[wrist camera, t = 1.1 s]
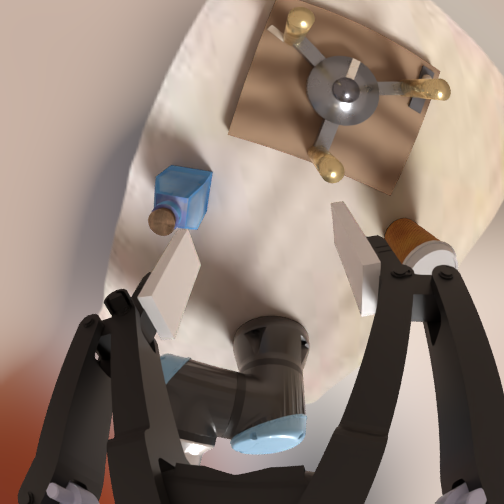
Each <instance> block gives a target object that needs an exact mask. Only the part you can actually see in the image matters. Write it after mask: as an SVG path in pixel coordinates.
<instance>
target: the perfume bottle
mask: <svg viewBox="0 0 504 504" xmlns="http://www.w3.org/2000/svg"><path fill="white" fill-rule="evenodd" d="M212 173H213V172H210V171H205V170H199V169H193V168H187V167H180V166H174V165H171V166H169V167H168V168H167V169H165V170H164V171H163V172H161V173H160V174H159V175H158V176H156V180H155V194H154V209H153V210H152V213H151V214H150V215H149V218H148V223H149V226H150V228H151V230H152V231H153V232H154V233H156V234H158V235H161V236H166V235H169V234H170V233H172V231H173V230H174V229H176V228H177V227H178V228H183V229H195V230H197V229H198V227H199V225H200V223H201V221H202V219H203V217H204V216H205V214H206V212H207V206H208V199H209V192H210V185H211V179H212Z"/></svg>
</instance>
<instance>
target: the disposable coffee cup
mask: <svg viewBox="0 0 504 504" xmlns="http://www.w3.org/2000/svg"><path fill="white" fill-rule="evenodd" d="M385 240H386V241H387V243H388V244H389V246H390V247H391V249H392V251H393V252H394V253H395V255H396V256H397V258H398V259H399V261H400V262H401V264H404V265H407V266H409V267H411V268H412V269H413V270H414V273H415V274H420V275H432V271H433V269H434V268H435V267H436V266H439V265H449V266H452V267H454V268H455V269H457V270H458V261H457V258H456V253H455V251H454V249H453V248H452V247H451V246H450V245H449V244H447V243H446V242H442V241H440V240H438V239H437V238H436V237H434V236H433V235H432V234H430V233H429V232H427V231H426V230H425V229H423V228H422V227H420V226H419V225H418V224H416V223H415V222H413V221H412V220H410V219H407V218H401V219H398V220H396V221H394V222H393V223H392V224H391V225H390V226H389V227H388V229H387V231H386V233H385Z"/></svg>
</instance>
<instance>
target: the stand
mask: <svg viewBox="0 0 504 504" xmlns="http://www.w3.org/2000/svg"><path fill="white" fill-rule="evenodd" d="M295 7H305V8H307V9H309V10H310V11H312V13H313V14H314V17H315V21H314V23H313V25H312V26H311V28H310V30H309V31H308V33H307V35H306V36H305V37H306V38H307V39H308V40H309V41H310V42H311V43H312V44H313V45H314V46H315V47H316V48H317V49H318V50H319V51H320V52H321V54H322V55H323V56H324V57H325V58H329V57H333V56H347V57H351V58H354V59H356V60H358V61H360V62H361V63H363V64H364V65H365V66H367V67H368V68H369V70H370V71H371V72H372V73H373V75H374V76H375V78H376V81H377V82H398V81H400V80H410V79H438V77H439V74H440V71H439V70H438V69H436V68H435V67H433V66H432V65H430V64H429V63H427V62H426V61H425V60H423V59H422V58H420V57H418V56H417V55H415V54H414V53H412V52H411V51H409V50H407V49H406V48H404V47H402V46H401V45H399V44H397V43H395V42H394V41H392V40H390V39H388V38H387V37H385V36H383V35H381V34H379V33H377V32H375V31H373V30H371V29H369V28H367V27H365V26H363V25H361V24H359V23H357V22H354V21H352V20H350V19H348V18H345V17H343V16H341V15H338V14H336V13H333V12H331V11H328V10H326V9H323V8H320V7H318V6H315V5H312V4H309V3H306V2H303V1H300V0H276V1H275V3H274V6H273V8H272V11H271V13H270V16H269V18H268V21H267V23H266V26H265V28H264V31H263V34H262V36H261V39H260V42H259V44H258V47H257V50H256V52H255V55H254V58H253V61H252V63H251V66H250V69H249V72H248V75H247V77H246V80H245V83H244V86H243V89H242V92H241V95H240V98H239V101H238V104H237V107H236V110H235V113H234V116H233V120H232V123H231V126H230V129H229V132H228V135H231V136H234V137H238V138H241V139H244V140H248V141H251V142H254V143H257V144H260V145H263V146H266V147H270V148H273V149H276V150H279V151H281V152H284V153H287V154H290V155H293V156H296V157H298V158H301V159H304V160H307V161H309V162H312V161H311V159H310V158H309V156H308V150H309V148H310V147H311V146H312V145H313V144H314V141H315V139H316V136H317V134H318V131H319V128H320V126H321V123H322V121H323V118H322V117H321V116H319V115H318V114H317V113H316V112H315V111H314V109H313V108H312V107H311V105H310V103H309V101H308V99H307V95H306V81H307V77H308V75H309V73H310V71H311V70H312V69H313V67H312V66H311V65H310V64H309V63H308V62H307V61H306V60H305V59H304V58H303V56H302V55H301V54H300V53H299V52H298V51H297V50H296V49H295V48H294V47H293V46H289V45H287V44H286V43H285V42H284V39H283V35H284V31H285V27H286V22H287V18H288V14H289V12H290V10H292V9H293V8H295ZM430 101H431V99H425V98H414V97H403V96H401V95H379V102H378V105H377V108H376V110H375V111H374V113H373V114H372V115H371V116H370V117H369V118H368V119H367V120H365V121H364V122H362V123H360V124H357V125H352V126H343V125H339V126H338V129H337V131H336V134H335V136H334V139H333V141H332V144H331V146H330V149H329V152H330V153H331V154H332V155H333V156H334V157H335V158H337V159H338V160H339V161H340V162H341V163H342V164H343V166H344V169H345V173H344V175H345V176H347V177H349V178H352V179H354V180H356V181H359V182H361V183H363V184H366V185H368V186H370V187H372V188H375V189H377V190H379V191H381V192H383V193H385V194H387V195H390V196H391V194H392V192H393V190H394V187H395V185H396V183H397V181H398V179H399V177H400V175H401V172H402V170H403V168H404V166H405V163H406V161H407V159H408V156H409V154H410V152H411V149H412V147H413V145H414V142H415V140H416V137H417V135H418V132H419V130H420V127H421V125H422V122H423V120H424V117H425V114H426V112H427V109H428V106H429V103H430ZM312 163H313V162H312Z"/></svg>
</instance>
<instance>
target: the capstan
mask: <svg viewBox="0 0 504 504" xmlns="http://www.w3.org/2000/svg"><path fill="white" fill-rule="evenodd" d="M314 21H315V17H314V14H313V13H312V11H310V10H309V9H307V8H305V7H295V8H293V9H292V10H290V12H289V14H288V18H287V22H286V27H285V31H284V35H283V39H284V42H285V43H286V44H287V45H289V46H293V47H294V48H295V49H296V50H297V51H298V52H299V53H300V54H301V55H302V56H303V58H304V59H305V60H306V61H307V62H308V63H309V64H310V65H311V66H312V67H313V69H312V70H311V71H310V73H309V75H308V77H307V81H306V95H307V99H308V101H309V103H310V105H311V107H312V108H313V109H314V111H315V112H316V113H317V114H318V115H319V116H321V117H322V118H323V121H322V123H321V126H320V128H319V131H318V134H317V136H316V139H315V141H314V144H313V145H312V146H311V147H310V148H309V150H308V156H309V158H310V159H311V161H312V162H313V164H314V165H315V167H316V168H317V170H318V172H319V173H320V175H321V176H322V178H323V179H324V180H325V181H326V182H329V183H336V182H339V181H340V180H341V179H342V178H343V176H344V173H345V169H344V166H343V164H342V163H341V162H340V161H339V160H338V159H337V158H335V157H334V156H333V155H332V154H331V153H330V152H329V149H330V146H331V144H332V141H333V139H334V136H335V134H336V131H337V129H338V126H339V125H343V126H352V125H357V124H360V123H362V122H364V121H365V120H367V119H368V118H369V117H370V116H371V115H372V114H373V113H374V111H375V110H376V108H377V105H378V102H379V95H401V96H403V97H414V98H425V99H435V100H443V101H444V100H447V99H448V98H449V97H450V94H451V90H450V87H449V85H448V83H447V82H446V81H445V80H443V79H410V80H400V81H398V82H377V81H376V78H375V76H374V75H373V73H372V72H371V71H370V70H369V68H368V67H367V66H365V65H364V64H363V63H361V62H360V61H358V60H356V59H354V58H351V57H347V56H333V57H329V58H325V57H324V56H323V55H322V54H321V52H320V51H319V50H318V49H317V48H316V47H315V46H314V45H313V44H312V43H311V42H310V41H309V40H308V39H307V38H306V37H305V36H306V35H307V33H308V31H309V30H310V28H311V26H312V25H313V23H314Z"/></svg>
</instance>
